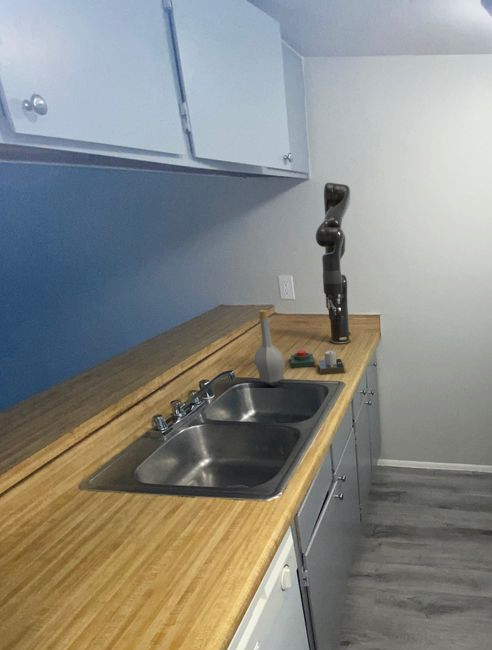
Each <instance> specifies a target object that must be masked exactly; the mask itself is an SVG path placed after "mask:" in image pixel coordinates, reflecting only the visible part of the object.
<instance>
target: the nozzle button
mask: <svg viewBox="0 0 492 650" xmlns="http://www.w3.org/2000/svg"><path fill="white" fill-rule="evenodd" d="M296 353H297V356H306V353H307V351H306V350H303V349H302V350H297V351H296Z"/></svg>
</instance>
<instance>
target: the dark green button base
mask: <svg viewBox="0 0 492 650" xmlns="http://www.w3.org/2000/svg"><path fill="white" fill-rule="evenodd" d="M290 365H291V369H297V368H310V367H311V368H312V367H315V359H314V355H313V353H309V352H306V356H297V352H296V353H294V354H290Z"/></svg>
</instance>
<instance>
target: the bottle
mask: <svg viewBox="0 0 492 650" xmlns="http://www.w3.org/2000/svg"><path fill="white" fill-rule="evenodd" d="M258 313H259V316H258V318H259V323H260V329H261V341H262V342H261V343H262V344H261V346H259V348H258V349H257V350H256V351H255V353H254V361H253V362H254V364H255V367H256V368H257V371H258V376H259V380H260V381H262V382H263V383H264V384H267V385H268V386H271V387H274V386H277V385H279V384H280V383H281V382H282V381H283V380H284V379H285V374H284V369H285V364H286V360H285V357H284V354H283V352H282V351H281V350H279V349H278V348H277V347H276V346H275V345H274V344H273V340H272V337H271V336H272V335H271V329H270V316H269V315H268V310H267V309H259V310H258Z"/></svg>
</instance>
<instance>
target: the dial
mask: <svg viewBox="0 0 492 650" xmlns="http://www.w3.org/2000/svg"><path fill="white" fill-rule="evenodd" d="M336 359H337V352H336V351H335V350H327V351H325V352H324V360H325V364H326V365H335V364H336Z"/></svg>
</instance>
